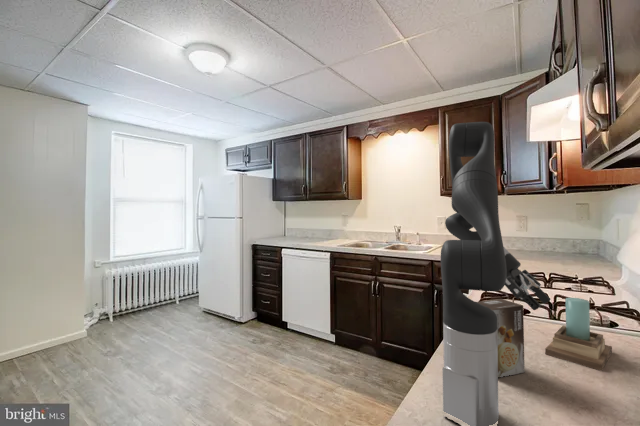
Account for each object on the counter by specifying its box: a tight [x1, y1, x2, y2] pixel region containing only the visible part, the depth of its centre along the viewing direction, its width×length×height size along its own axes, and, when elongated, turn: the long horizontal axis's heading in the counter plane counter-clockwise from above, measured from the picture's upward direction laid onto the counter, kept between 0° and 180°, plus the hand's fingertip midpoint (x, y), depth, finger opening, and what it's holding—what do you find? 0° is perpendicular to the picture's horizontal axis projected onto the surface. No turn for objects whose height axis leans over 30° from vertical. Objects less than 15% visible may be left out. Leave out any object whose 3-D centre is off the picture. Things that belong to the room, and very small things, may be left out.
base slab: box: [544, 325, 613, 371], centre depth 80 cm, size 14×11×5 cm
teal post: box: [564, 297, 591, 341], centre depth 80 cm, size 5×5×10 cm
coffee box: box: [476, 298, 526, 378], centre depth 73 cm, size 9×6×16 cm
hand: (542, 305), depth 86 cm, fingers open, 8 cm apart
